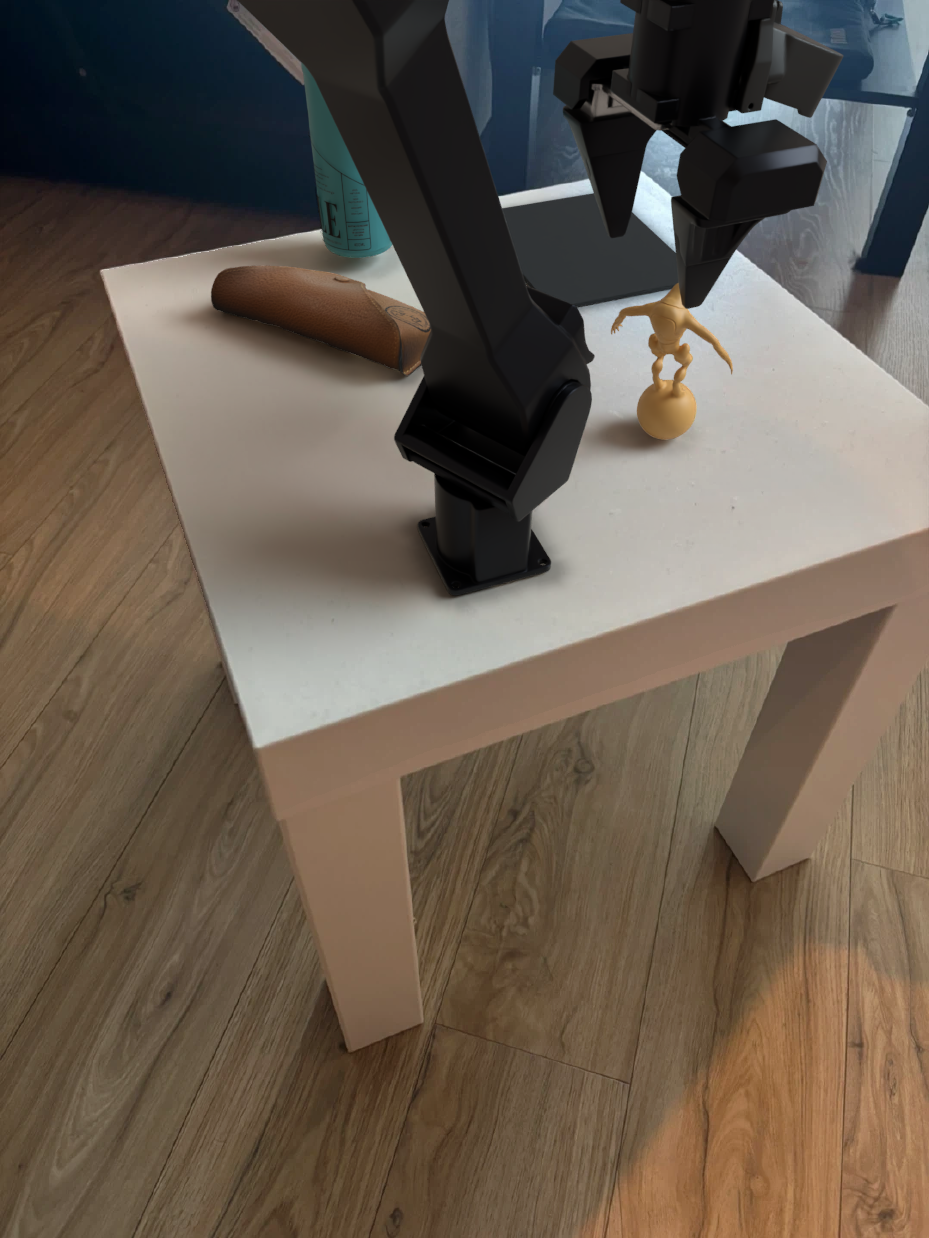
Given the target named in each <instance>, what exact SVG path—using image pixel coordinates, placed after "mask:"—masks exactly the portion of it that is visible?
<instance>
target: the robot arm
mask: <svg viewBox="0 0 929 1238" xmlns="http://www.w3.org/2000/svg"><path fill="white" fill-rule="evenodd" d="M236 1H237V2H238V3H239V4H240V5H241V6H242V7H243V8H244V9H246V11H247V12H249V14H251V15H252V16H253V18H255V19H256V20H257V21H258V23H260V24H261V25H262V26H263V27H264V28H265V29H266V30H267V31H268V32H269V33H270V34H271V35H272V36H273V37H274V38H276V40H278V41H279V43H280V44H282V45H283V46H284V47H285V48H286V49H287V50H288V51H289V52H290V53H291V54H292V55H293V56H294V57H295V58H296V59H298V61H299V62H300V63H303V65H304V66H305V67H306V68H307V69H308V71H309V72H310V73H311V75H312V76H313V78H314V80H315V81H316V84H317V86H318V88H319V90H320V92H321V94H322V96H323V98H324V100H325V103H326V105H327V107H328V109H329V111H330V113H331V115H332V117H333V120H334V122H335V124H336V126H337V128H338V130H339V132H340V134H341V137H342V139H343V141H344V143H345V145H346V147H347V149H348V151H349V154H350V156H351V158H352V160H353V162H354V164H355V166H356V168H357V171H358V173H359V175H360V177H361V179H362V181H363V183H364V185H365V187H366V190H367V192H368V194H369V196H370V198H371V200H372V202H373V204H374V207H375V209H376V211H377V213H378V215H379V217H380V219H381V221H382V224H383V226H384V228H385V230H386V232H387V234H388V236H389V238H390V241H391V243H392V247H393V249H394V251H395V253H396V256H397V257H398V259H399V262H400V263H401V266H402V269H403V270H404V272H405V275H406V277H407V279H408V281H409V283H410V286H411V288H412V289H413V292H414V294H415V296H416V298H417V300H418V302H419V304H420V307H421V309H422V311H423V312H424V313H425V315H426V317H427V319H428V321H429V323H430V327H431V331H430V334H429V336H428V339H427V341H426V344H425V346H424V348H423V351H422V353H421V356H420V360H421V366H420V367H421V369H422V372H423V376H422V379H421V381H420V383H419V384H418V387H417V389H416V391H415V392H414V394H413V397H412V399H411V400H410V403H409V405H408V407H407V409H406V411H405V413H404V415H403V417H402V419H401V420H400V422H399V425H398V427H397V429H396V431H395V434H394V435H393V441H394V443H395V445H396V447H397V449H398V451H399V453H400V455H401V458H402V459H404V460H406V461H408V462H410V463H412V462H413V463H414V464H416V465H418V466H420V467H421V468H424V469H426V470H427V471H428V472H431V473H433V477H434V511H435V513H434V516H431V517H427V518H424V519H421V520H419V521H418V522H417V531H418V534H419V536H420V538H421V540H422V541H423V544H424V546H425V548H426V550H427V552H428V554H429V556H430V558H431V561H432V562H433V564H434V566H435V568H436V570H437V573H438V575H439V577H440V578H441V580H442V583H443V585H444V587H445V589H446V591H447V592H448V594H450V596H460V595H465V594H468V593H472V592H476V591H480V590H484V589H487V588H491V587H495V586H499V585H502V584H506V583H510V582H514V581H518V580H523V579H526V578H529V577H530V578H531V577H533V576H537V575H540V574H545V573H547V572H549V571H550V570H551V568H552V559H551V558H550V556H549V554H548V553H547V551H546V549H545V548H544V546H543V544H542V543H541V542H540V540H539V538H538V537H537V535H536V534H535V532H534V530H533V528H532V526H533V525H532V524H533V511H534V510H535V509H536V508H537V507H539V506H540V505H541V504H543V503H544V502H545V501H546V500H547V499H548V498H550V497H551V496H552V495H553V494H554V493H556V491H558V490H559V489H560V488H561V487H563V486H564V485H565V484H566V483H567V482H568V481H569V479H570V476H571V474H572V470H573V467H574V464H575V461H576V457H577V454H578V451H579V447H580V444H581V441H582V438H583V435H584V432H585V428H586V425H587V423H588V420H589V416H590V412H591V409H592V403H593V393H592V391H591V388H592V382H591V373H590V369H589V366H588V364H590V363H593V361H594V359H595V357H596V356H595V354H594V353H593V352H592V351H591V350H590V349H589V346H588V344H587V341H586V340H587V339H586V333H585V321H584V318H583V316H582V314H581V312H580V310H579V307H576V306H575V305H573V304H570V303H568V302H566V301H563V300H561V299H558V298H556V297H553V296H551V295H548V294H546V293H544V292H541V291H539V290H536V289H534V288H531V287H530V286H529V285H528V284H527V283H526V281H525V280H524V277H523V274H522V271H521V267H520V264H519V261H518V258H517V254H516V251H515V248H514V245H513V242H512V238H511V235H510V232H509V229H508V226H507V222H506V219H505V216H504V213H503V210H502V208H503V207H502V204H501V199H500V197H499V194H498V191H497V187H496V184H495V181H494V178H493V175H492V172H491V168H490V165H489V162H488V159H487V154H486V152H485V149H484V146H483V142H482V139H481V136H480V133H479V130H478V126H477V123H476V120H475V117H474V114H473V110H472V106H471V104H470V101H469V97H468V95H467V91H466V88H465V84H464V82H463V78H462V75H461V72H460V69H459V65H458V61H457V59H456V56H455V51H454V50H453V46H452V43H451V39H450V36H449V33H448V30H447V25H446V15H447V10H448V5H449V2H450V0H236ZM619 4H622V5H623V6H625V7H626V8H628V9H630V10H632V11H633V12H635V14H634V22H633V29H632V32H629V33H623V34H615V35H607V36H599V37H591V38H582V39H576V40H575V39H574V40H571V41H570V42H569V43H568V44H567V45H566V46H565V48H564V49H563V50H562V51H561V53H559V55H558V57H557V58H556V59H555V60H554V61H555V62H554V72H553V73H554V75H553V87H552V88H553V90H552V95H553V96H554V97H555V98H557V99H558V100H559V101H560V102H561V103H563V104H564V106H563V107H562V115H563V118H564V119H565V120H566V121H567V122H568V125H569V128H570V130H571V133H572V136H573V139H574V142H575V144H576V147H577V149H578V152H579V155H580V158H581V161H582V163H583V166H584V169H585V171H586V174H587V178H588V181H589V183H590V186H591V189H592V193H594V195H595V198H596V201H597V204H598V207H599V210H600V213H601V216H602V220H603V223H604V226H605V229H606V232H607V234H608V236H609V237H610V238H617V237H622V236H624V235H625V234H626V231H627V227H628V224H629V221H630V217H631V214H632V212H633V210H634V204H635V201H636V195H637V191H638V187H639V181H640V177H641V172H642V169H643V163H644V158H645V154H646V149H647V145H648V143H649V141H650V140H651V138H652V137H653V136H654V135H655V134H656V132H660V131H661V132H663V134H665V135H667V136H668V137H669V138H671V139H672V140H673V141H675V142H676V143H677V144H679V145H680V146H681V147H683V148H684V149H683V150H682V151H681V152H680V153H679V157H678V165H677V171H676V180H677V184H678V189H679V192H680V195H675V196H671V197H670V205H671V219H672V229H673V236H674V248H675V249H674V250H675V253H676V261H677V272H678V283H679V290H680V296H681V302H682V305H683V307H685V308H686V309H688V310H690V309H694V308H698V307H700V306H702V305H703V303H704V301H705V300H706V299H707V297H708V296H709V293H710V292H711V290H712V289H713V288H714V286H715V284H716V283H717V281H718V279H719V278H720V277H721V275H722V274H723V271H724V270H725V268H726V267H727V265H728V264H729V262H730V260H731V258H732V257H733V256H734V254H735V253H736V251H737V249H738V248H739V246H740V245H741V244H742V242H743V241H744V240H745V238H747V236H748V235H749V233H750V232H751V231H752V230H753V229H754V227H755V226H756V225H757V224H759V223H761V222H762V221H763V220H765V219H768V218H771V217H778V216H782V215H783V216H784V215H787V214H788V213H790V212H791V211H794V210H800V209H804V208H810V207H814V206H815V204H816V202H817V198H818V196H819V192H820V188H821V184H822V181H823V178H824V175H825V171H826V167H827V164H828V160H827V159H826V157H825V155H824V153H823V152H822V151H821V149H820V147H819V146H818V144H817V143H815V142H813V141H812V140H811V139H809V138H808V137H806V136H805V135H802V134H801V133H800V132H798V131H797V130H794V129H793V128H791V127H789V126H788V125H787V124H785V123H783V122H781V121H780V120H779V119H777V118H775V119H769V120H763V121H756V122H749V123H744V124H739V125H737V124H736V125H730V124H728V123H726V122H725V120H727V119H728V116H729V113H730V112H736V111H737V112H739V113H740V114H747V113H748V114H749V113H754V112H760V111H762V108H763V104H764V99H767V100H769V101H772V102H775V103H778V104H781V105H784V106H787V107H790V108H793V109H796V111H797V114H798V115H799V116H802V117H804V118H809V119H812V118H813V116H814V114H815V112H816V110H817V108H818V106H819V105H820V103H821V101H822V99H823V97H824V95H825V93H826V91H827V89H828V87H829V85H830V83H831V81H832V80H833V78H834V76H835V74H836V72H837V70H838V68H839V66H840V64H841V63H842V60H843V58H844V54H843V53H840V52H839V51H836V50H835V49H833V48H830V47H828V46H827V45H825V44H822V43H820V42H818V41H817V40H815V39H813V38H811V37H809V36H807V35H805V34H803V33H800V32H798V31H797V30H794V29H793V28H790V27H788V26H787V25H784V24H782V18H783V10H784V4H783V2H782V1H781V0H619Z"/></svg>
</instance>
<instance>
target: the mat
mask: <svg viewBox="0 0 929 1238" xmlns="http://www.w3.org/2000/svg"><path fill="white" fill-rule="evenodd" d="M502 210H503V213H504V216H505V219H506V222H507V226H508V229H509V232H510V235H511V238H512V242H513V245H514V248H515V251H516V254H517V258H518V261H519V264H520V267H521V271H522V274H523V277H524V280H525V283H526V285H527V286H529V287H531V288H534V289H536V290H539V291H541V292H544V293H546V294H548V295H551V296H553V297H556V298H558V299H561V300H563V301H566V302H568V303H570V304H573V305H575V306H576V307H577V308H580V307H585V306H590V305H595V304H600V303H606V302H610V301H615V300H621V299H625V298H627V299H628V298H631V297H636V296H642V295H646V294H651V293H657V292H662V291H668V290H671V289H672V288H673V287H674V286H675V285H676V284H677V283H678V272H677V261H676V251H674V250H673V248H671V246H669V245H668V244H667V243H666V242H665V241H664V240H663V239H662V238H661V237H659V236H658V234H657V233H655V232H654V231H653V230H652V229H651V228H650V227H649V226H648V225H647V224H645V222H643V221H642V220H641V219H640V218H639V217H638V216H637V215H636V213H634V212H633V211H632V214H631V217H630V221H629V224H628V227H627V231H626V234H625V235H624V236H622V237H617V238H610V237H609V236H608V234H607V232H606V229H605V226H604V223H603V220H602V216H601V213H600V210H599V207H598V204H597V201H596V198H595V195H594V192H592V193H588V194H587V193H586V194H580V195H575V196H574V195H573V196H569V197H568V196H567V197H563V198H557V199H550V200H545V201H544V200H543V201H539V202H532V203H531V202H530V203H526V204H525V203H524V204H519V205H513V206H507V207H502Z"/></svg>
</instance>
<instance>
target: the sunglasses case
mask: <svg viewBox="0 0 929 1238" xmlns="http://www.w3.org/2000/svg"><path fill="white" fill-rule="evenodd" d="M366 286H367V285H366V282H365V283H364V282H363V281H359V280H357V279H353V278H350V277H347V276H344V275H342V274H339V273H334V272H330V271H329V272H328V271H324V270H323V271H322V270H314V269H308V268H302V267H295V266H285V265H270V264H269V265H267V264H266V265H243V266H235V267H228V268H225V269H223V270H221V271H220V272H219V273H218V274H217V275H216V276H215V278H214V280H213V283H212V285H211V291H210V301H211V305H212V307H213V309H215V310H216V311H218V312H221V313H224V314H229V315H232V316H234V317H238V318H243V319H246V320H249V321H253V322H254V321H256V322H259V323H261V324H264V325H268V326H273V327H277V328H280V329H282V330H283V331H287V332H289V333H293V334H295V335H298V336H300V337H302V338H305V339H308V340H312V341H315V342H318V343H319V342H320V343H323V344H325V345H327V346H329V347H331V348H334V349H337V350H340V351H343V352H345V353H349V354H352V355H354V356H357V357H360V358H363V359H365V360H368V361H371V362H373V363H375V364H379V365H381V366H384V367H386V368H389V369H391V370H396V371H399V372H400V373H401V374H403V375H404V376H406V377H409V376H410V375H411V374H412V373H414V372H415V371H416V370H418V369H419V368H420V367H422V366H421V360H420V356H421V353H422V351H423V348H424V346H425V344H426V341H427V339H428V336H429V334H430V331H431V327H430V323H429V321H428V319H427V317H426V315H425V313H424V311H423V310H420V309H418V308H416V307H414V306H412V305H409V304H407V303H405V302H402V301H400V300H397V299H395V298H392V297H390V296H387V295H385V294H382V293H379V292H376V291H374V290H370V289H368V288H366Z"/></svg>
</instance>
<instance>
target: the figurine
mask: <svg viewBox="0 0 929 1238" xmlns="http://www.w3.org/2000/svg"><path fill="white" fill-rule="evenodd" d="M641 316H642V317H643V316H646V317H648V318H649V321H650V325H651V327H652V330H653V332H654V333H651V334H650V335H649V337H648V340H647V345H648V348H649V349H650V352H651V354H652V355H654V356H655V357H657V358H656V359H655V361H654V362H652V365H651V373H652V382H653V383H651V384H650V385H648V386H647V387H646V388H645V389H644V391H643V392H642V393H641V394H640V396H639V398H638V401H637V405H636V417H637V421H638V423H639V425H640V427H641V429H642V430H643V431H644V432H645V433H646V434H647V435H648V436H650V437H652V438H654V439H658V440H663V441H664V440H665V441H667V440H674V439H676V438H679V437H680V436H682V435H684V434H685V433H687V432H688V430H689V429H690V428H691V427H692V426H693V424H694V422H695V419H696V416H697V410H698V409H697V408H698V407H697V406H698V405H697V400H696V397H695V395H694V393H693V392H692V390H691V389H690V388H689V387H688V386H687V385H686V384H684V383H682V381H684V380H685V378H686V376H687V370H688V368H689V366H690V365H691V364H692V362H693V360H694V357H693V354H692V353H691V352H690V351H691V347H690V345H689V343H688V342H684V343H682V344H681V345H680V342H681V339H682V337H683V336H684V333H685V332H686V330H688V331H689V330H690V331H691V332H692V333H694V334H695V335H697V336H698V337H699V338H701V339H702V340H704V341H705V342H707V343H709V344H711V345H712V348H713V350H714V351H715V352H716V353H717V355H718V356H719V357H720V358H721V359H722V360H723V361H725V363H726V365H728V368H729V370H730V375H733V373H734V372H733V371H734V368H733V367H734V366H733V361H732V358H731V357H730V355H729V353H728V352H727V350H726V349H725V348H724V347H723V346H722V344H721V342H720V340H719V339H718V338H717V337H716V336H715V335H714V333H712V332H711V331H710V330H709V329H708V328H707V327H705V326H704V325H703V324H701V323H700V322H699V321H698V320H697V319H696V317H695V316H693V314H692V313H691V312H690V309H686V308H685V307H683V305H682V302H681V296H680V290H679V283H677V284H676V285H675V286H674V287H673V288H672V289H669V291H668V293H666V295H664V297H662V298H660V299H659V300H657V301H653V302H648V303H645V304H641V305H632V306H627V307H624V308H622V309H620V311H619V312H618V316H616V317H615V319H614V321H613V323H612V325H611V327H610V335H611V336H612V335H613V333H614V334H616V331H617V332H620V328H619V327H621V328H622V327H623V324H622V323H623V322H624V320H625V319H627V317H641ZM667 355H672V356H673V359H674V361H675V362H676V363H679V364H680V365H681V366H680V367H678V369H677V370H676V371H675V372H674V374H673V379H663V378H660V374H661V372H662V371H663V368H664V364H663V363H664V362H663V361H664V358H665V357H666V356H667Z"/></svg>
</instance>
